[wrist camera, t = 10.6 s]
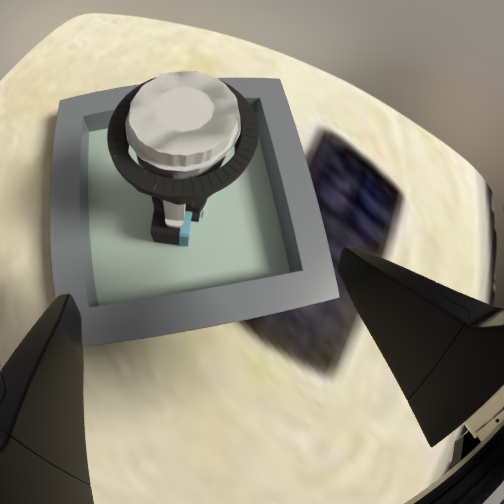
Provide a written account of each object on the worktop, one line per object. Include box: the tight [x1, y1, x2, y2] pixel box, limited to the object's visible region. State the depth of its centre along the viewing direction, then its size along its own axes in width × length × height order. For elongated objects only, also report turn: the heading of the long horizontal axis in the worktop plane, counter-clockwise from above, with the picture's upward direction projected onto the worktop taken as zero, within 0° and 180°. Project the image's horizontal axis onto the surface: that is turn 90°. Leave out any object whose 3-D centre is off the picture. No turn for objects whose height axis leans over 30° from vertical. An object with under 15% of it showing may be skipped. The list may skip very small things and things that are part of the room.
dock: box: [50, 78, 339, 346], centre depth 18 cm, size 16×16×3 cm
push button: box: [107, 71, 259, 246], centre depth 13 cm, size 7×5×10 cm
